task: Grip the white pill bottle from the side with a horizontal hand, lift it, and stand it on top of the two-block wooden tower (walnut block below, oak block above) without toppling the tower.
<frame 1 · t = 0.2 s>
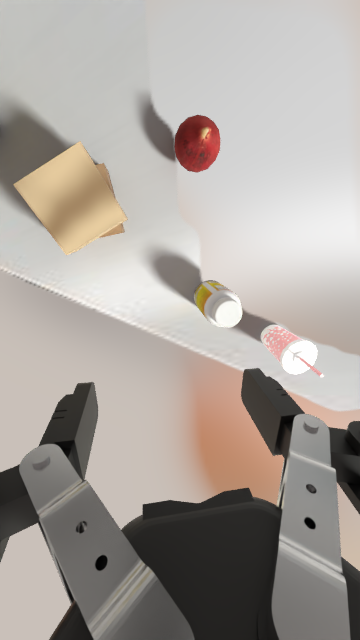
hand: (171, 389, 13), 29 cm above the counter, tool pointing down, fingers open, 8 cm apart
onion: (191, 153, 34), on the counter
beverage cup: (271, 334, 48), on the counter
supplement bottle: (208, 294, 42), on the counter
upper block: (82, 205, 30), point 5 cm above the counter, touching lower block
lower block: (89, 208, 35), on the counter, touching upper block
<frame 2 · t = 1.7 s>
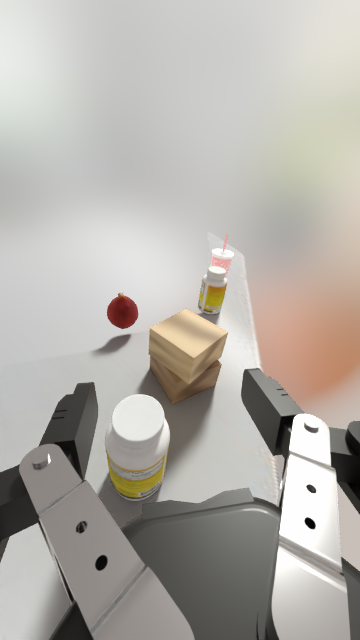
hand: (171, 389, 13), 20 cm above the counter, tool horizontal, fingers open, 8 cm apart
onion: (123, 328, 49), on the counter
beverage cup: (216, 282, 71), on the counter
pill bottle: (137, 471, 28), on the counter
supplement bottle: (208, 309, 58), on the counter
upper block: (185, 355, 37), point 5 cm above the counter, touching lower block
lower block: (181, 376, 40), on the counter, touching upper block
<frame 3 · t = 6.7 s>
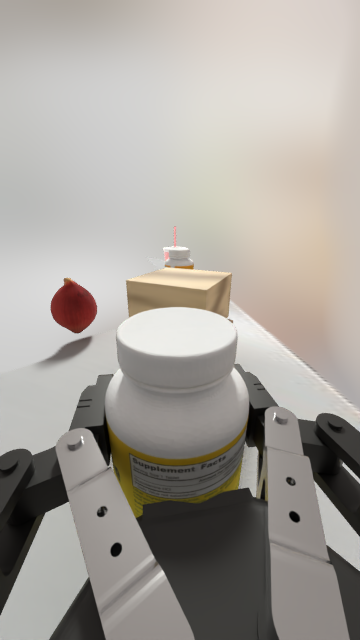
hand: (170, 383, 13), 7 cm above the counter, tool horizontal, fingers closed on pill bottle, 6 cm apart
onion: (78, 333, 35), on the counter
beverage cup: (175, 283, 64), on the counter
pill bottle: (177, 507, 14), on the counter, touching gripper
supplement bottle: (179, 301, 49), on the counter
upper block: (182, 322, 26), point 5 cm above the counter, touching lower block
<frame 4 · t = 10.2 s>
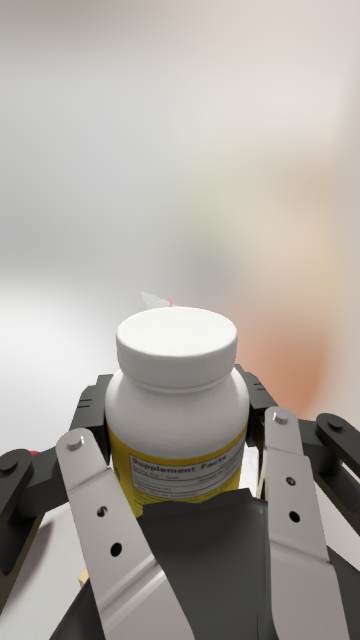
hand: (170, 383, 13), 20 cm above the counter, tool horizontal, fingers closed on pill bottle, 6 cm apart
pill bottle: (177, 507, 14), point 14 cm above the counter, touching gripper
upper block: (173, 577, 17), point 5 cm above the counter, touching lower block
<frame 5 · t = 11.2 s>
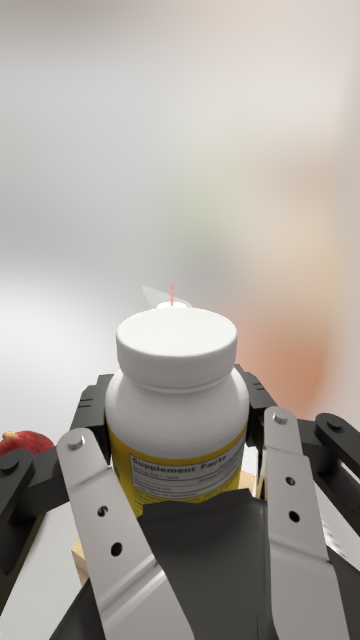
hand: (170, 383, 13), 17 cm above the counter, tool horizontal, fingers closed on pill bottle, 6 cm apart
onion: (32, 492, 25), on the counter
beverage cup: (172, 345, 53), on the counter
pill bottle: (177, 507, 14), point 10 cm above the counter, touching gripper
upper block: (174, 554, 16), point 5 cm above the counter, touching lower block
when the fingers open (17 cm above the counter, at t = 11.3 s): pill bottle stays where it is, resting on upper block.
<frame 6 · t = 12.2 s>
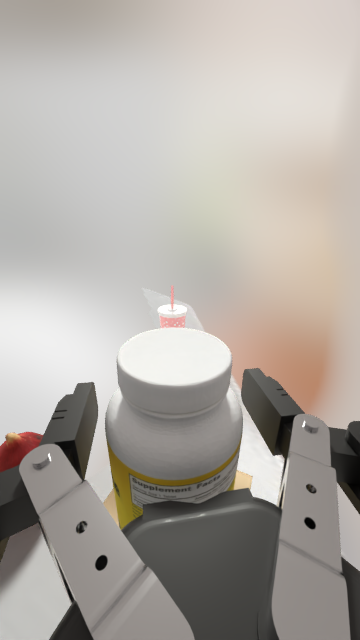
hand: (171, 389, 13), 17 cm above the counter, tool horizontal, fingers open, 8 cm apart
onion: (33, 492, 25), on the counter
beverage cup: (172, 347, 54), on the counter
pill bottle: (173, 516, 14), point 10 cm above the counter, touching upper block
upper block: (173, 554, 16), point 5 cm above the counter, touching lower block, pill bottle
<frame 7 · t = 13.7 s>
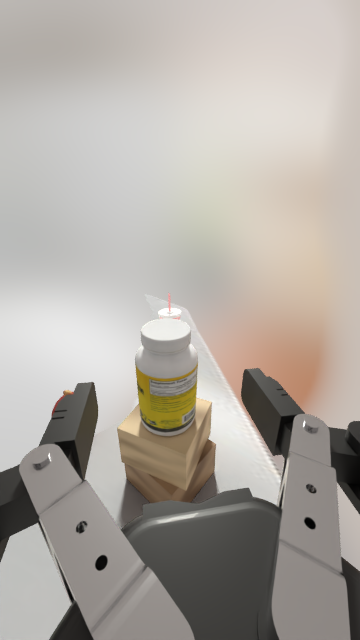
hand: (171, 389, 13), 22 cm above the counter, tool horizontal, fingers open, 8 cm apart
beverage cup: (170, 342, 67), on the counter
pill bottle: (167, 416, 27), point 10 cm above the counter, touching upper block
upper block: (168, 446, 29), point 5 cm above the counter, touching lower block, pill bottle
lower block: (170, 476, 31), on the counter, touching upper block
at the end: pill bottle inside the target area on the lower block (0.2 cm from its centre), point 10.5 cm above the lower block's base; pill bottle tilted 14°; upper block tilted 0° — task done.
